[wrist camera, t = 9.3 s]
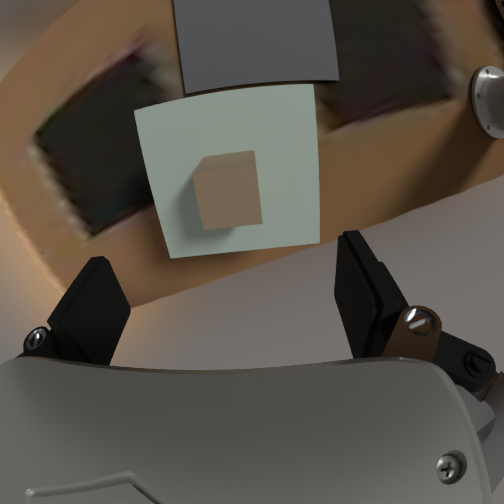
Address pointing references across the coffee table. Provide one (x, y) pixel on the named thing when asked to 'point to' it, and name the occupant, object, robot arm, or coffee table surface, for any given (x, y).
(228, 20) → the mat
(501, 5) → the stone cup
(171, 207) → the lid
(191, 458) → the robot arm
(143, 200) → the coffee table surface
